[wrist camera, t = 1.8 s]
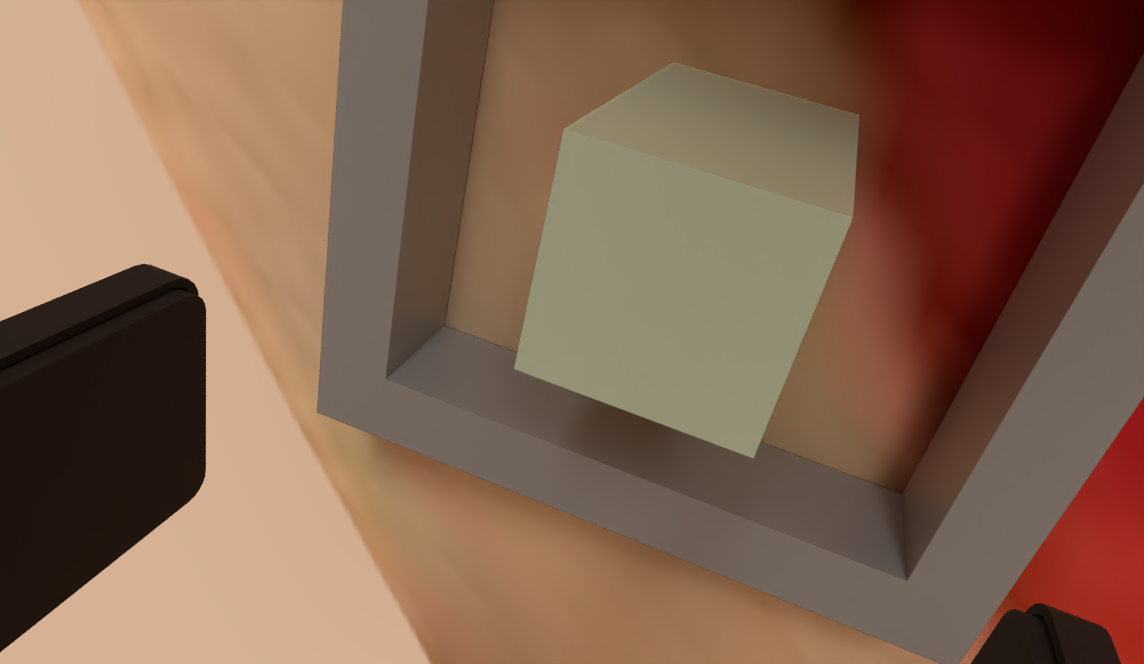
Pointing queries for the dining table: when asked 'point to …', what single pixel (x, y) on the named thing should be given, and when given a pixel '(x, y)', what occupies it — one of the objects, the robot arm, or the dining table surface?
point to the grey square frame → (684, 462)
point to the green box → (689, 250)
